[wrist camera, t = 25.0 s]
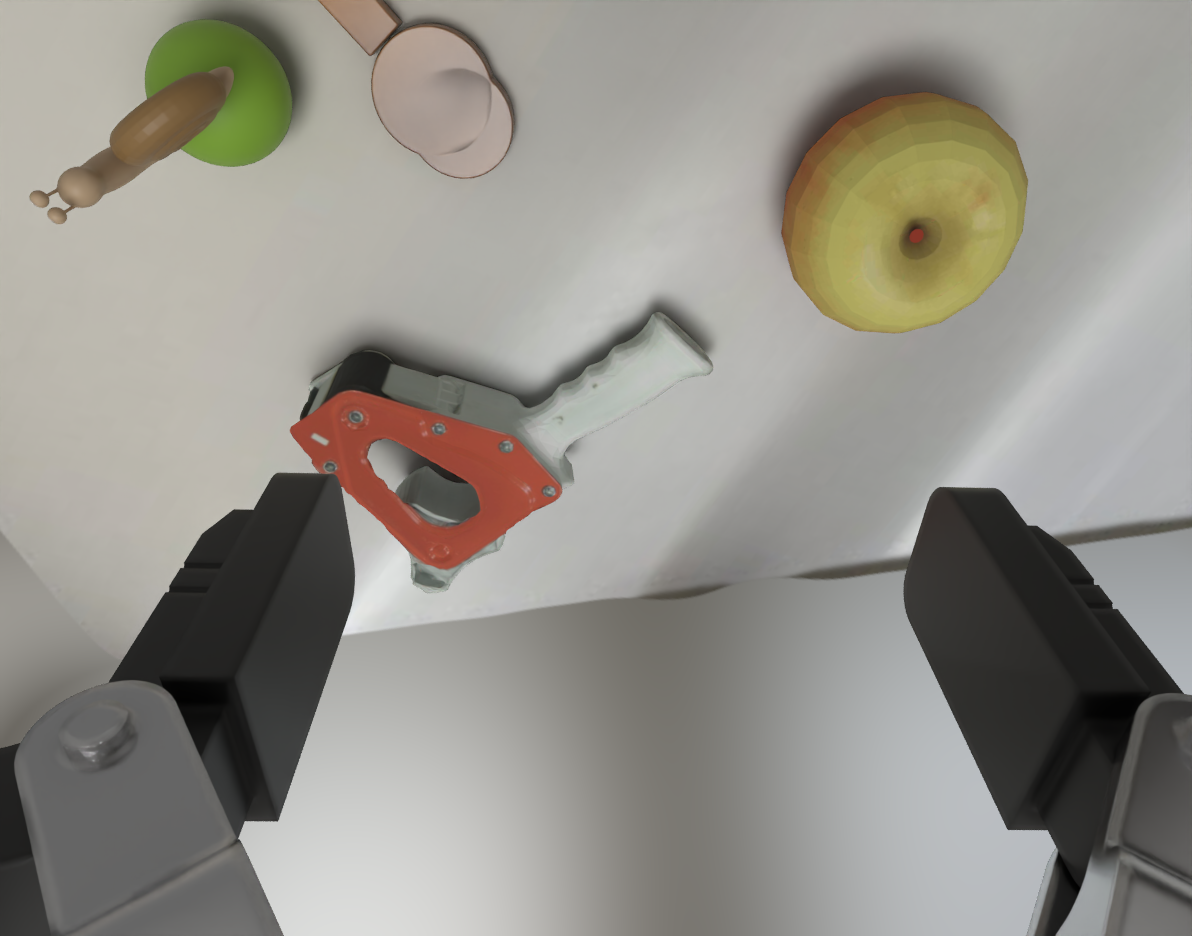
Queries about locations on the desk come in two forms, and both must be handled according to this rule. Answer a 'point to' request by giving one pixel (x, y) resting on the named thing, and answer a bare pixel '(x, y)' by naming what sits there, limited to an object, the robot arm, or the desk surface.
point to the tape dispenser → (475, 441)
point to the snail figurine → (189, 111)
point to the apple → (904, 212)
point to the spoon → (432, 89)
